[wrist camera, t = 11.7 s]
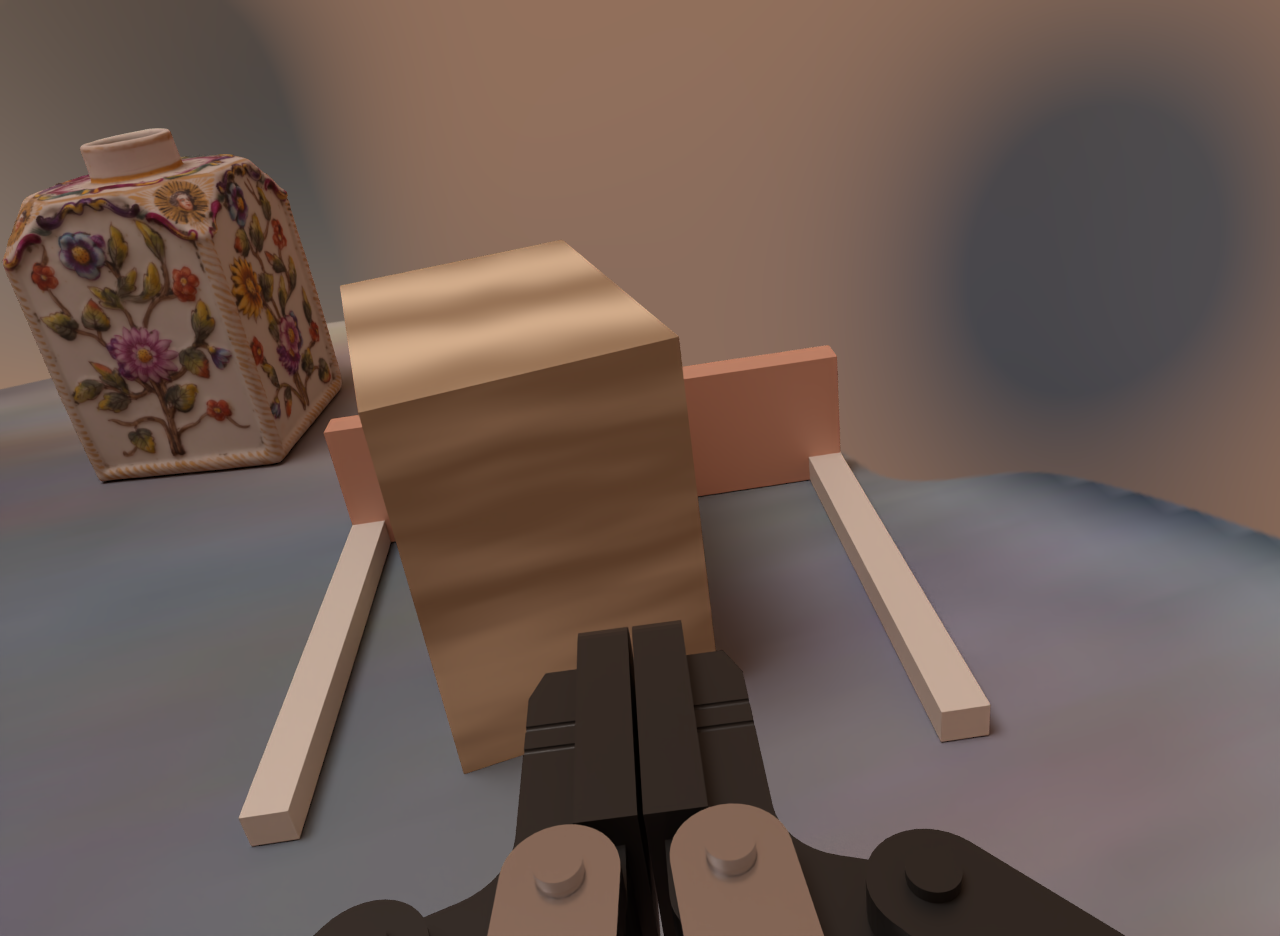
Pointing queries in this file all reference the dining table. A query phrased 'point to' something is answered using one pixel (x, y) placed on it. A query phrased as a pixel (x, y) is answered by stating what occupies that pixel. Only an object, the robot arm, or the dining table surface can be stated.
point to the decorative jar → (173, 309)
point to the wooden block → (526, 471)
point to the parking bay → (723, 461)
